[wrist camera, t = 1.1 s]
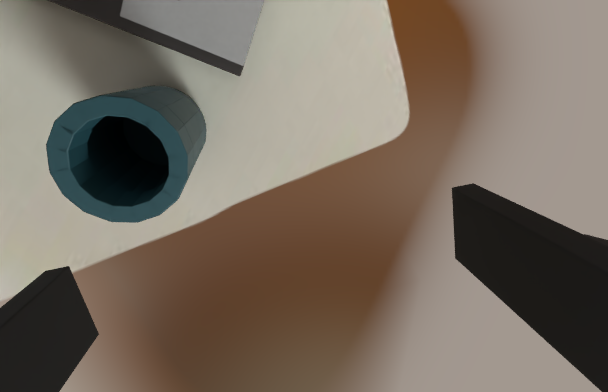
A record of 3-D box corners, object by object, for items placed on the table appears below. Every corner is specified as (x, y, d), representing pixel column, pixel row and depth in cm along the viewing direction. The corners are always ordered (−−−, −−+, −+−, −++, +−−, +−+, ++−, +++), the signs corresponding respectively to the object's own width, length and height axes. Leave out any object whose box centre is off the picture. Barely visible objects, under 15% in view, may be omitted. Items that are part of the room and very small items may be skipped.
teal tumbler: (100, 123, 34) (15, 156, 21) (162, 67, 33) (114, 66, 20) (165, 183, 37) (125, 245, 24) (223, 133, 36) (214, 168, 23)
